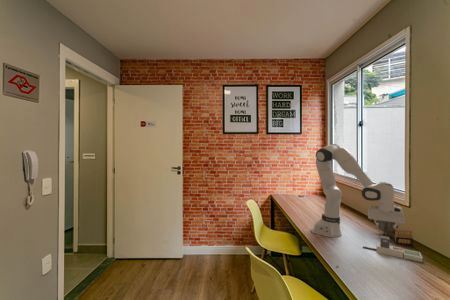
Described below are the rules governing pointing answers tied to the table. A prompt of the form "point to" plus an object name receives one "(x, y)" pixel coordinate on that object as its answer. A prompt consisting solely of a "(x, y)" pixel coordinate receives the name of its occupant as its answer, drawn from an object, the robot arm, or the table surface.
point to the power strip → (388, 250)
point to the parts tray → (412, 255)
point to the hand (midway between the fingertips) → (385, 227)
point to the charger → (384, 241)
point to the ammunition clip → (404, 237)
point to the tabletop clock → (387, 227)
